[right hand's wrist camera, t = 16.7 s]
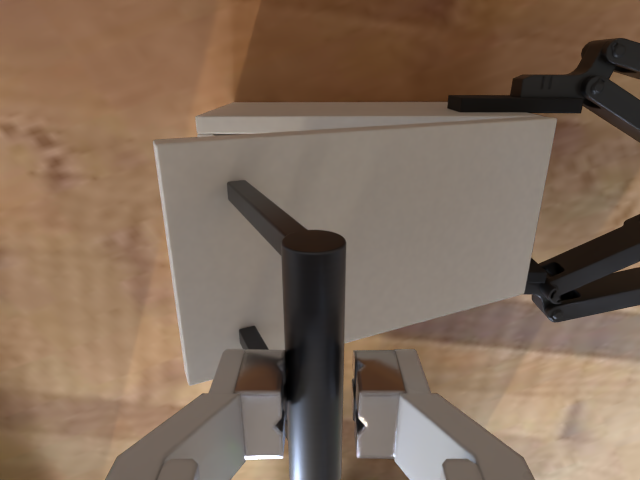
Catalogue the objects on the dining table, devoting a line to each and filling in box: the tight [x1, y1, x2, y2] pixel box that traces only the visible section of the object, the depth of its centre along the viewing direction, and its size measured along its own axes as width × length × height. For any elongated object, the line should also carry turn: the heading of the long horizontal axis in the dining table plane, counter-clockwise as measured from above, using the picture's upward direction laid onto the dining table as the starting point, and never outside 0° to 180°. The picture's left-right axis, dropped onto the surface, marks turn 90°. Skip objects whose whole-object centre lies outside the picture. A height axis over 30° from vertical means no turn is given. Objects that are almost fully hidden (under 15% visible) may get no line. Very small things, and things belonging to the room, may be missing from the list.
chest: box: [195, 102, 541, 137], centre depth 28 cm, size 18×10×10 cm, turn 90°
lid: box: [153, 116, 557, 480], centre depth 16 cm, size 18×10×9 cm, turn 89°
